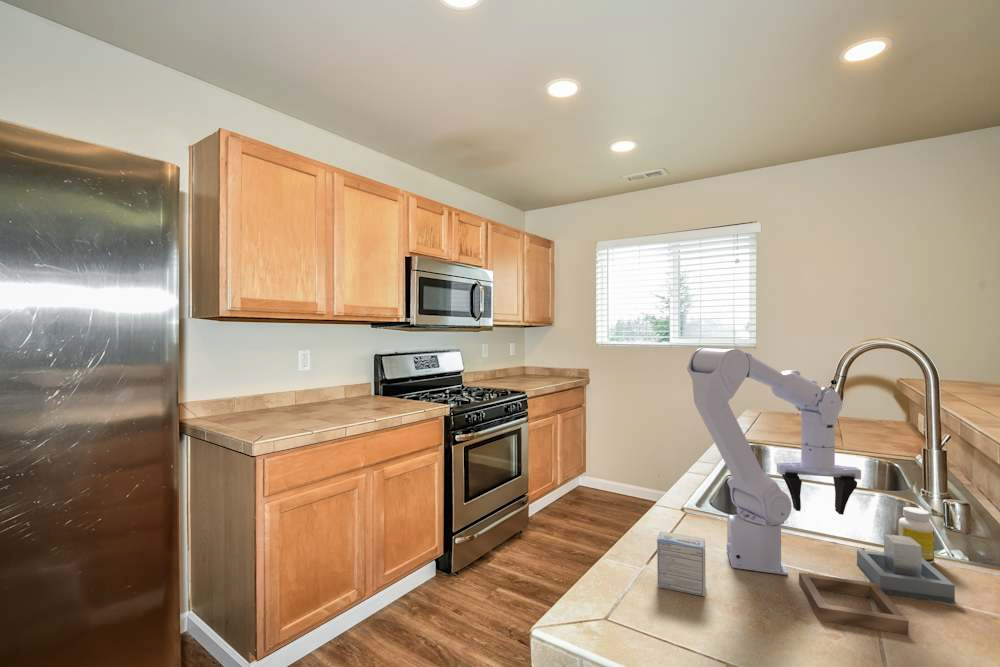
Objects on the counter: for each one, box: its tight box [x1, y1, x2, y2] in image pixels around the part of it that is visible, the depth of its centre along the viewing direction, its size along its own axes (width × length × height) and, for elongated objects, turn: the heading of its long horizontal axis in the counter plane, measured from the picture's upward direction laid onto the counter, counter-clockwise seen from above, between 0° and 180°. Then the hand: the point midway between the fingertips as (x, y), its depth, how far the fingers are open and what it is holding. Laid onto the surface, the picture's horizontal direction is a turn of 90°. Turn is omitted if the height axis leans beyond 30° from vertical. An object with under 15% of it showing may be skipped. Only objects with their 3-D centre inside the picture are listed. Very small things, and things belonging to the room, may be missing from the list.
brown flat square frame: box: [798, 572, 910, 635], centre depth 79 cm, size 12×12×2 cm
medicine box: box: [656, 530, 707, 597], centre depth 85 cm, size 8×4×9 cm, turn 65°
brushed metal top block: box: [883, 533, 922, 578], centre depth 86 cm, size 4×4×7 cm
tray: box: [856, 549, 956, 604], centre depth 86 cm, size 10×10×3 cm
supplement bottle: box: [898, 506, 935, 565], centre depth 96 cm, size 5×5×10 cm
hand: (817, 511), depth 98 cm, fingers open, 7 cm apart
